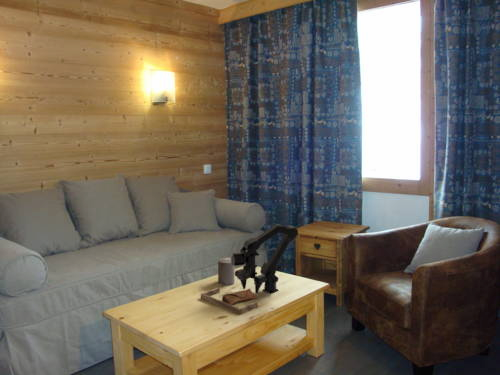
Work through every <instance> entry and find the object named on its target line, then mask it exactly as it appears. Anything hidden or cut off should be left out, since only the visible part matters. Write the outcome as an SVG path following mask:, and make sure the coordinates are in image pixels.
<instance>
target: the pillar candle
mask: <svg viewBox="0 0 500 375" xmlns="http://www.w3.org/2000/svg"><path fill="white" fill-rule="evenodd" d="M217 262H218V263H217V265H218V266H217V267H218V270H217V272H218V273H217V279H218V280H217V284H219V285H221V286H231V285H234V284H235V277H236V276H235V272H236V270H235V267H236V266H233V265H232V263H231V257H220V258H218V261H217Z"/></svg>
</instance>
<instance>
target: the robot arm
mask: <svg viewBox="0 0 500 375" xmlns="http://www.w3.org/2000/svg"><path fill="white" fill-rule="evenodd" d="M278 234H281V239H280V241H279V243H278V245H277V247H276V248H275V251H274V252H273V254H272V256H271V257H270V259H269V261H267V262H265V261H264V262H263V264H262V266H260V272H259V273H260V274H259V275H258V272H256V270H257V268H258V265H257V262H256V261H257V260H256V258H257V257H258V256H260V253H258V250H259V249H260V248H261V246H262V245H263V244H265V242H267V241H269V240H271V238H273V237H275V236H277V235H278ZM298 234H299V230H298V228H297V227H294V226H292V225H282V224H278V223H275V224H274V225H273V226H271V227H270V228H268V229H266V231H264V232H262V233H261V234H260V235H258V236H256V237H255V236H254V237H252V238H249V239H247V240H245V241H244V244H243V245H242V248H241V249H240V250H239V252H233V253H232V255H231V257H230V258H231V263H232V265H233V266H235V267H236V266H237V267H238V266H243V268H240V269H238V270H235V277H236V278H237V280H239V281H240V283H241V286H242V289H243V290H246V287H247V286H246V285H247V280H249V279H252V280H253V284H254V289H255V290H254V291H255V292H254V293H255V294H258V293H259V291H260V288H261V287H262V285H263V283H264V288H263V289H262V291H263V292H265V293H268V294H273V293H275V292H278V291H279V289H278V288H277V283H278V282H279V277H278V276H277V275H276V272H277V266H278V264H279V262H280V261H281V258H282V257H283V255H284V254H285V251H286V250H287V248H288V246H289V245H290V243H292V242H293V241H295V239H296V238H297V237H298Z"/></svg>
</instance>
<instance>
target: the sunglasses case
mask: <svg viewBox="0 0 500 375" xmlns="http://www.w3.org/2000/svg"><path fill="white" fill-rule="evenodd" d="M254 300H258V297H257V296H256V295H255V294H254V292H253V291H252V290H251V288H248V289H243V290H241V291H240V290H239V291H235V292H232V293H231V292H230V293H227V294H226V293H225V294H223V295H222V298H221V301H223V302H225V303H228V304H230V305H233V306H235V305H237V304H241V303H244V302H248V301H254Z"/></svg>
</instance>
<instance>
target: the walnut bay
mask: <svg viewBox="0 0 500 375" xmlns="http://www.w3.org/2000/svg"><path fill="white" fill-rule="evenodd" d="M220 293H221V292H220V287H216V288H213V289H210V290H208V291H205V292H203V293H202V292H201V293H200V299H201V300H204V301H206V302H209V303H211V304H213V305H216V306H218V307H220V308H223V309H225V310H227V311H229V312H230V311H231V312H233V313H235V314H237V315H243V314H245V313H247V312H250V311H251V310H253V309H257V308H258V302H257V301H254V302H252V303H249V304H247V305H245V306H242V307H238V306H235V305H230V304H228V303H225V302H224V301H223V300H220V299H217V298H215V297H212V296H214V295H217V294H220Z"/></svg>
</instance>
